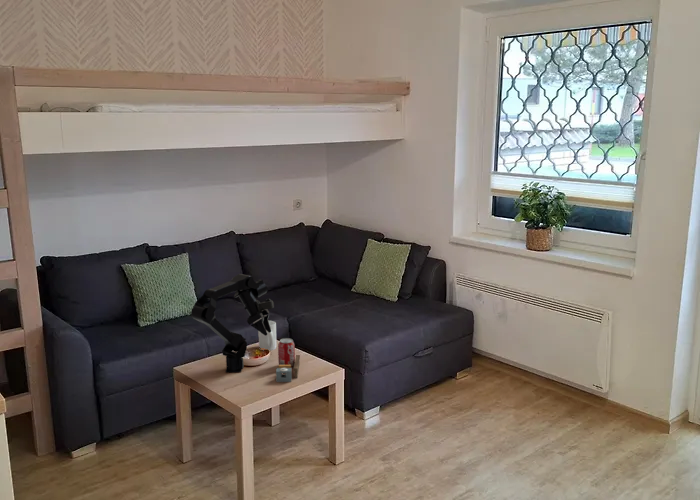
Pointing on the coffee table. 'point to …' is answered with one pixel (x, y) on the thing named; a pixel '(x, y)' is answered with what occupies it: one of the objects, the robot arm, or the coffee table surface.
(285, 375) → the gauge cabinet
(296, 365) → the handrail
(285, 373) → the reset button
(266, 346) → the mug
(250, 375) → the coffee table surface
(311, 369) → the coffee table surface
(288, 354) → the soda can
